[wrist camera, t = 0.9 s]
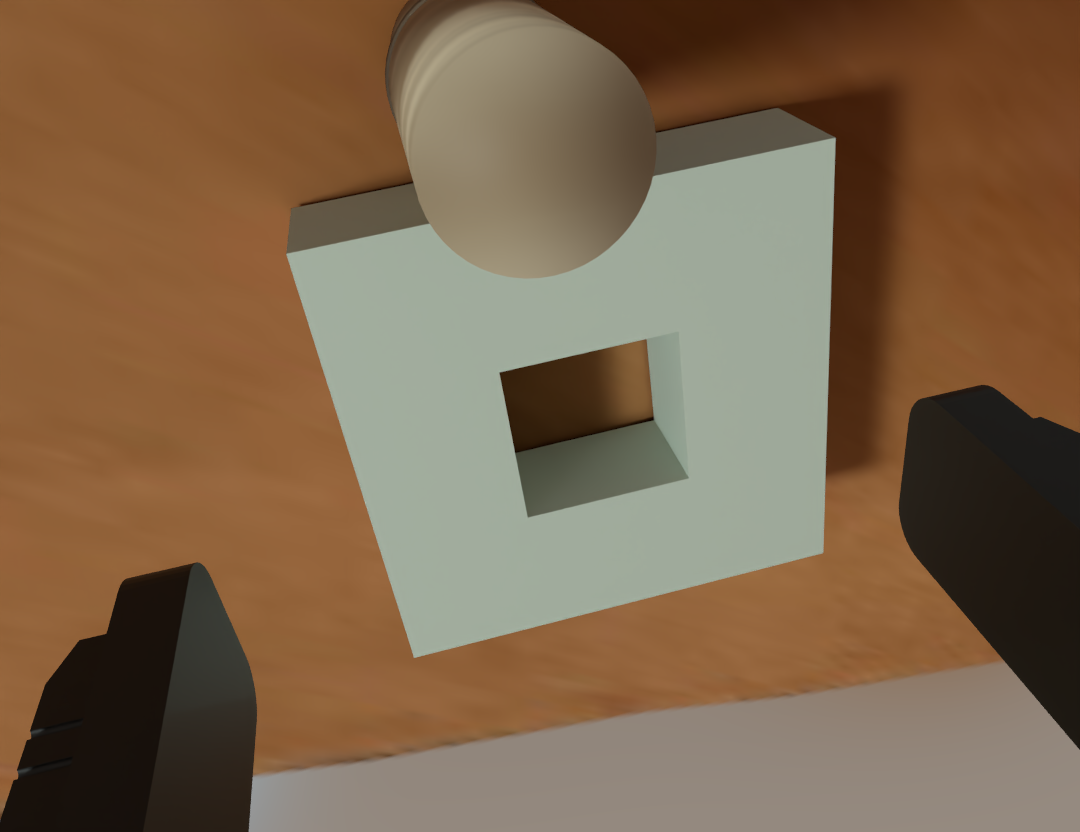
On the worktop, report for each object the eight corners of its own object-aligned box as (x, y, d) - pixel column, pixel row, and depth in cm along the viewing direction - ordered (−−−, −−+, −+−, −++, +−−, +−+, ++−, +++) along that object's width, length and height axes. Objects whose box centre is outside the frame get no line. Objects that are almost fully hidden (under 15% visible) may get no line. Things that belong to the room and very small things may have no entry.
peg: (359, -18, 25) (381, 52, 15) (523, -49, 26) (648, 1, 16) (398, 148, 28) (438, 303, 18) (546, 118, 28) (667, 252, 18)
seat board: (291, 208, 28) (286, 253, 25) (777, 107, 30) (835, 137, 26) (406, 585, 37) (414, 657, 33) (779, 493, 38) (823, 552, 35)
